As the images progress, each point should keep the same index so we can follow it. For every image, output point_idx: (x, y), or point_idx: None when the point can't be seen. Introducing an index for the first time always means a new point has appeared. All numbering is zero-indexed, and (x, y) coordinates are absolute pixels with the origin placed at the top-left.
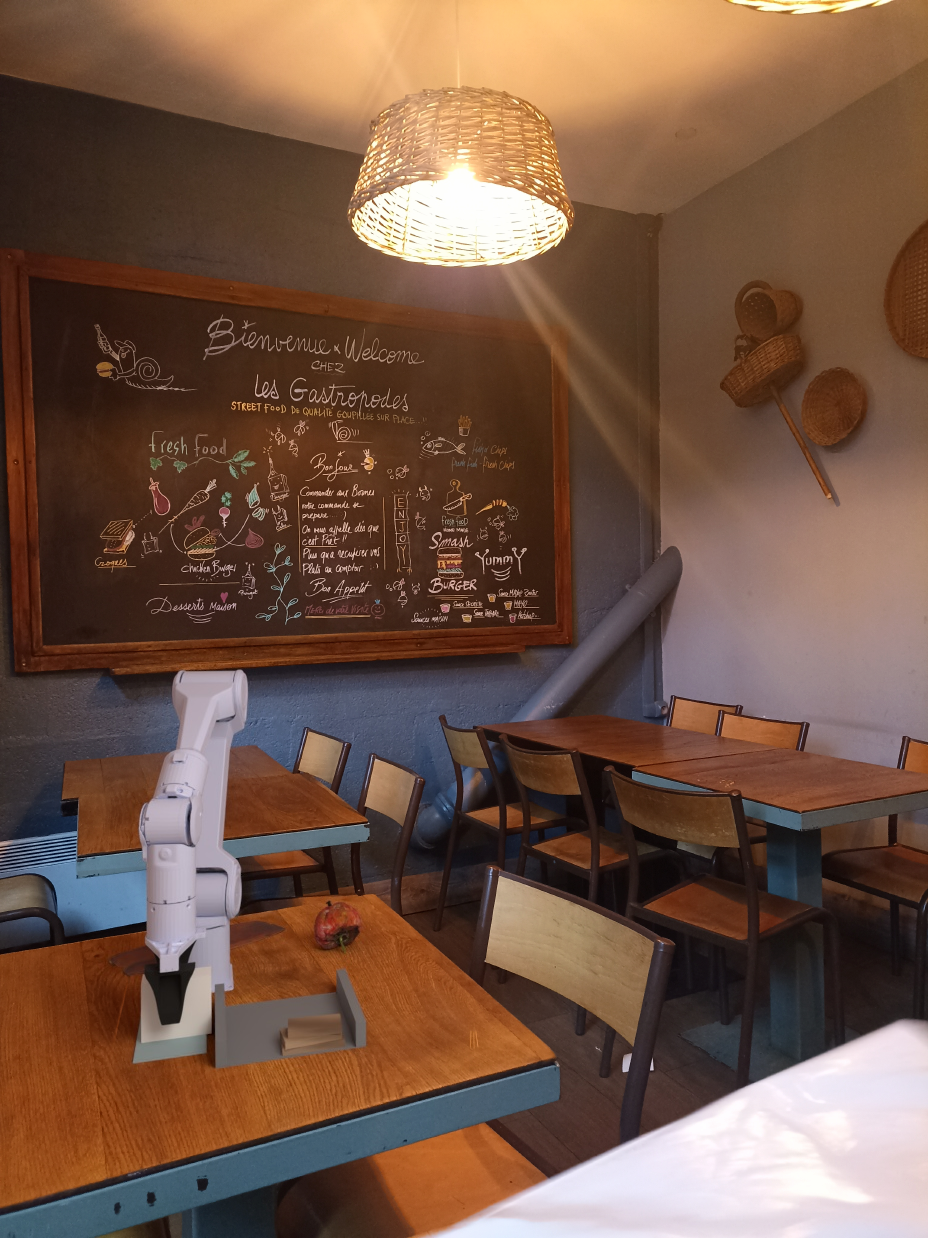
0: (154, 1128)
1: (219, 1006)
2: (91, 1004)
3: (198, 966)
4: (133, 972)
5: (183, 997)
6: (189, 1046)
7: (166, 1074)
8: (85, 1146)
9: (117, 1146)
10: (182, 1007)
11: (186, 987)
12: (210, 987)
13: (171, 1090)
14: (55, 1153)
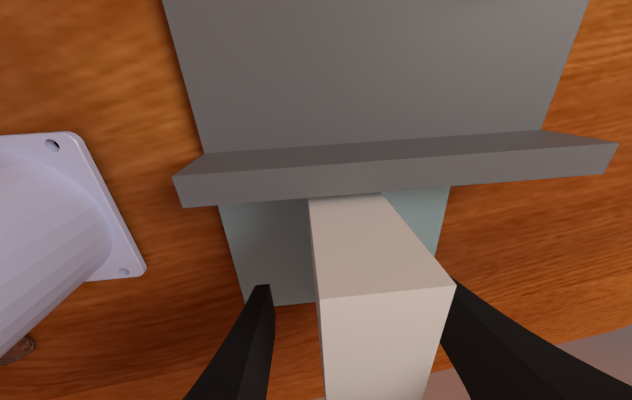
0: (621, 229)
1: (375, 179)
2: (170, 369)
3: (40, 278)
4: (16, 354)
5: (516, 324)
6: (410, 214)
7: (470, 235)
8: (592, 293)
9: (624, 263)
10: (475, 295)
11: (579, 360)
12: (423, 248)
13: (530, 221)
14: (581, 315)
